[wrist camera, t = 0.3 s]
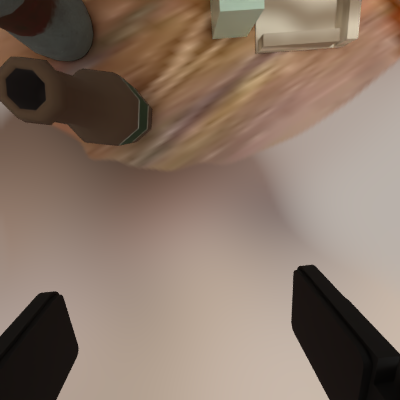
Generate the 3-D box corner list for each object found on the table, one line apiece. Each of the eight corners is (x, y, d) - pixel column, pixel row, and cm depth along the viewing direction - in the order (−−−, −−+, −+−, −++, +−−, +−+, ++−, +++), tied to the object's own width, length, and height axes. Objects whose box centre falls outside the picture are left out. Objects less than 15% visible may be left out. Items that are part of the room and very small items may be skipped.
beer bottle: (115, 78, 34) (-34, -32, 11) (163, 105, 35) (119, 58, 12) (95, 127, 36) (-69, 119, 13) (141, 151, 37) (68, 183, 14)
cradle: (254, -26, 31) (262, -45, 28) (348, -32, 32) (366, -51, 29) (255, 53, 34) (262, 45, 31) (341, 47, 35) (357, 38, 31)
